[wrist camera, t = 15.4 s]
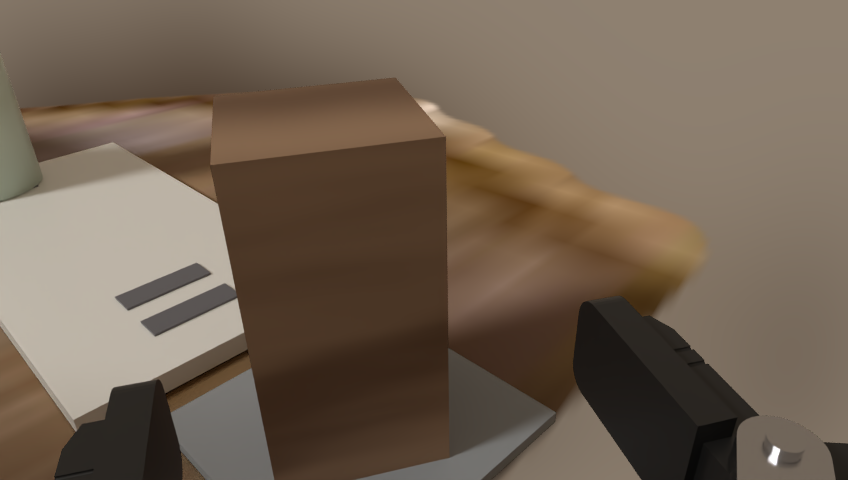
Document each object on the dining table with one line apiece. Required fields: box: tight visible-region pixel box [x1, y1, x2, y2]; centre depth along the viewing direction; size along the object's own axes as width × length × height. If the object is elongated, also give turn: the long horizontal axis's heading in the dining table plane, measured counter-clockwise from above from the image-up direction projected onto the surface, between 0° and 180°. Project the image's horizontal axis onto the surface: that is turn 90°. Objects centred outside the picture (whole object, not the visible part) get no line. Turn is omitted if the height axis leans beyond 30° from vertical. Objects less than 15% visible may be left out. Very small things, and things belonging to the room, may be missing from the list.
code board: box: [0, 142, 248, 431], centre depth 31 cm, size 11×24×1 cm, turn 45°
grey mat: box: [171, 348, 556, 480], centre depth 21 cm, size 9×9×1 cm
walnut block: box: [210, 78, 450, 480], centre depth 18 cm, size 5×5×10 cm
